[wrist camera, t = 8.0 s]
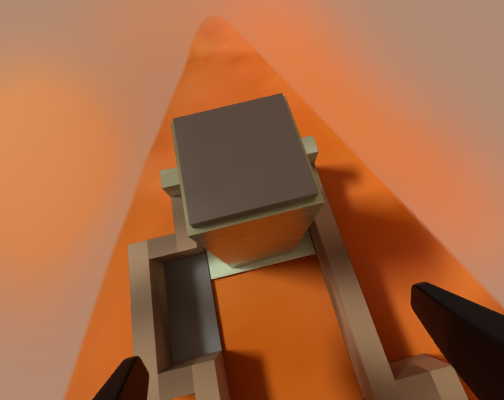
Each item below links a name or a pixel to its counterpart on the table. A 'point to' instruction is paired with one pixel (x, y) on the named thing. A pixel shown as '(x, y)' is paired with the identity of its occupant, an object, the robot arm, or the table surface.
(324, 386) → the table surface
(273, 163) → the olive tin
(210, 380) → the trap lane
